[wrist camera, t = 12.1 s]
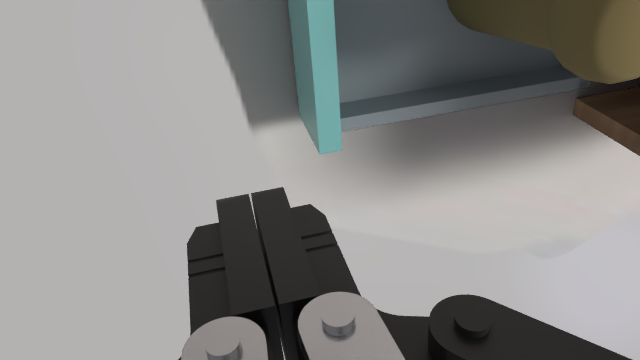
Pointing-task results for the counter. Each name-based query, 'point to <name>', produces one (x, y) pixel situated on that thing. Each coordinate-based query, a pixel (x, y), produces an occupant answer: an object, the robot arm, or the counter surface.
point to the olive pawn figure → (565, 31)
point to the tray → (405, 65)
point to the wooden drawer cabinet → (613, 115)
